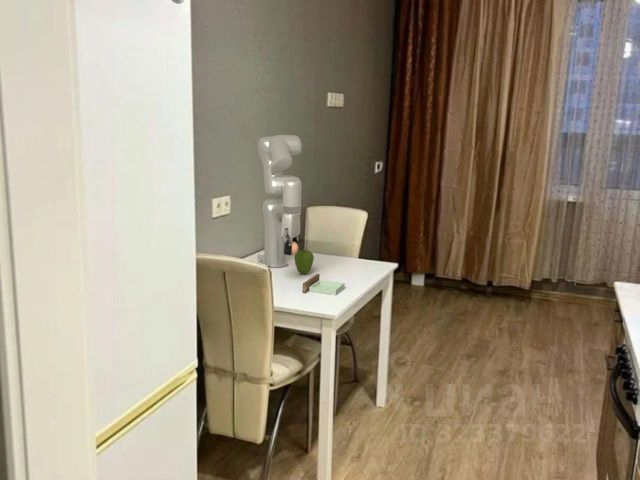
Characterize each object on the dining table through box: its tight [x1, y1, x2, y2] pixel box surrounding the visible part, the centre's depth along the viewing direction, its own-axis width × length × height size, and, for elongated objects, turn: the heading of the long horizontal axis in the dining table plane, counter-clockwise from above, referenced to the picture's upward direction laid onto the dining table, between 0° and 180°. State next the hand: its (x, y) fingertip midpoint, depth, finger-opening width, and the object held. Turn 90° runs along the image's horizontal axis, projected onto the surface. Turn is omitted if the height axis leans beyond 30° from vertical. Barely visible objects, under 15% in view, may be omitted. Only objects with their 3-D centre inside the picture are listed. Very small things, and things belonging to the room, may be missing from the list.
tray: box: [308, 279, 346, 296], centre depth 246 cm, size 11×11×2 cm
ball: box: [291, 241, 299, 256], centre depth 249 cm, size 6×6×6 cm
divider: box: [302, 273, 321, 294], centre depth 249 cm, size 1×16×4 cm, turn 159°
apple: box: [293, 249, 315, 275], centre depth 269 cm, size 9×8×12 cm
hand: (291, 252), depth 250 cm, fingers closed on ball, 5 cm apart
